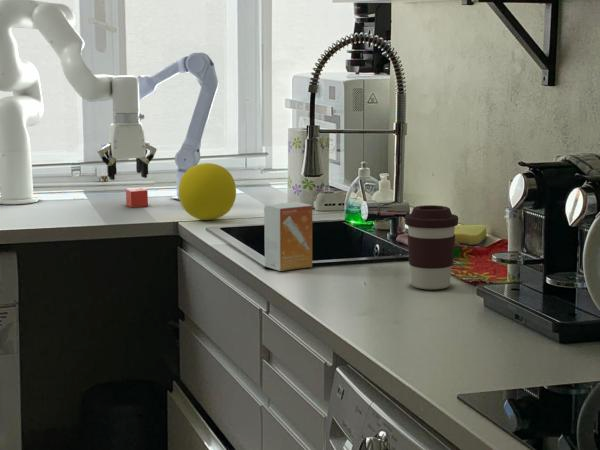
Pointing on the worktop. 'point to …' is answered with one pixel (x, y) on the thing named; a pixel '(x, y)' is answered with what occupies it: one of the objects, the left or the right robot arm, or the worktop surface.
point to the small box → (288, 236)
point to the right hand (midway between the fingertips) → (126, 173)
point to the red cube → (136, 197)
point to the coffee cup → (431, 245)
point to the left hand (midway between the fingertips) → (128, 178)
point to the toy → (207, 191)
